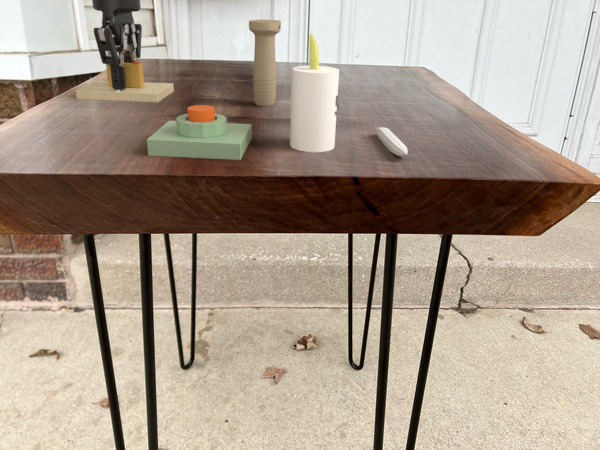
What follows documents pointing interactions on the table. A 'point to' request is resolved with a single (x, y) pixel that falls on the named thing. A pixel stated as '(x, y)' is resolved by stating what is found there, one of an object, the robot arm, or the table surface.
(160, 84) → the plate
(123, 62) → the robot arm
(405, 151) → the white faceted rod
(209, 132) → the green button mount
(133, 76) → the thumbturn
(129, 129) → the table surface
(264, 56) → the handle
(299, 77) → the candle
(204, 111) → the bell button
